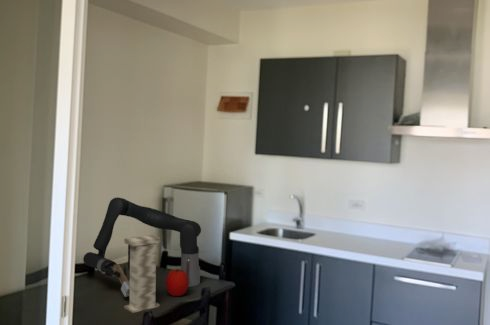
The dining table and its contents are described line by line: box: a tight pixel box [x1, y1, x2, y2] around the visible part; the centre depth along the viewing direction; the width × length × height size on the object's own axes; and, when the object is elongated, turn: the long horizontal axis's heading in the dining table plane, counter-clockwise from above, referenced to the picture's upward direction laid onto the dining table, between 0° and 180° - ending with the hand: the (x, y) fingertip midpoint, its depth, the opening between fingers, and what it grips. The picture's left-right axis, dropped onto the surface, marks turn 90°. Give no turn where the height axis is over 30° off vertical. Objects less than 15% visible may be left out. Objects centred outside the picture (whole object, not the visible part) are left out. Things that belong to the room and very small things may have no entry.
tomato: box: [165, 268, 189, 297], centre depth 256 cm, size 12×12×13 cm
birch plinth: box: [123, 234, 161, 314], centre depth 238 cm, size 14×8×32 cm, turn 130°
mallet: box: [113, 263, 130, 298], centre depth 251 cm, size 6×19×5 cm
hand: (122, 274), depth 252 cm, fingers closed on mallet, 2 cm apart
